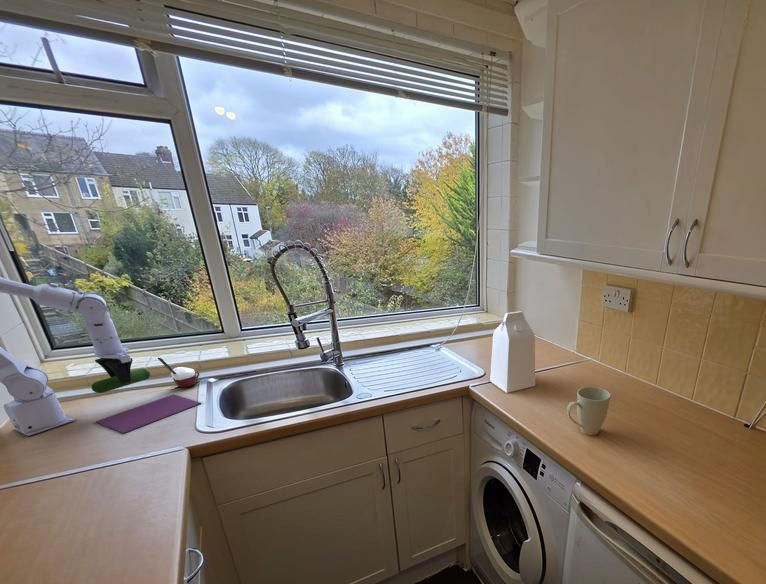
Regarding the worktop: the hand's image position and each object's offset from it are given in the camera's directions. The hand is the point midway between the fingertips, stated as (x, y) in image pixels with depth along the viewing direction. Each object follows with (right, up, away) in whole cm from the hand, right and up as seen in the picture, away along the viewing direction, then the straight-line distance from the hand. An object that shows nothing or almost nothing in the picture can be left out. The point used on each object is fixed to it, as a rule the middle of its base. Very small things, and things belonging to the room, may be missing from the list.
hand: (122, 381), depth 121 cm
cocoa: (+5, -2, +17) cm, 18 cm away
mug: (+138, -15, -5) cm, 139 cm away
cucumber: (0, -1, +1) cm, 2 cm away
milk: (+117, -1, +25) cm, 119 cm away
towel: (+9, -9, 0) cm, 13 cm away
